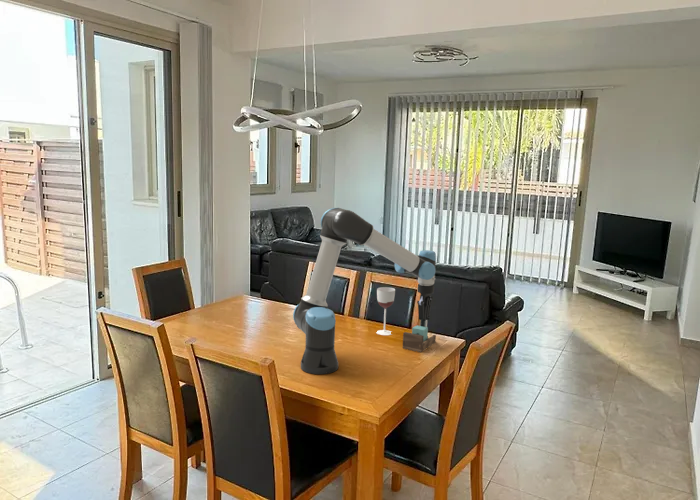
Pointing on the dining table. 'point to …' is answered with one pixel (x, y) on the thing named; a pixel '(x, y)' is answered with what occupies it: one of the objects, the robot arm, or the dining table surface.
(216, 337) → the dining table surface
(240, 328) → the dining table surface
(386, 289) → the wineglass
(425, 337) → the block
